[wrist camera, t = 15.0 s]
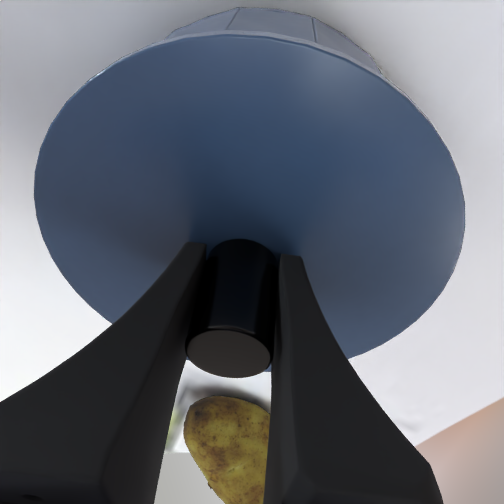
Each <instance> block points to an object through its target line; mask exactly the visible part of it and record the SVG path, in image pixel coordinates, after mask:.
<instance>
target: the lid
mask: <svg viewBox="0 0 504 504" xmlns="http://www.w3.org/2000/svg"><path fill="white" fill-rule="evenodd" d="M34 201H35V208H36V216H37V220H38V224H39V227H40V230H41V234H42V237H43V240H44V242H45V244H46V246H47V248H48V251H49V253H50V255H51V257H52V259H53V260H54V262H55V264H56V265H57V267H58V268H59V270H60V272H61V273H62V275H63V276H64V278H65V279H66V280H67V281H68V283H69V284H70V285H71V286H72V288H73V289H74V290H75V291H76V292H77V293H78V294H79V295H80V296H81V297H82V298H83V299H84V300H85V301H86V302H87V303H88V304H89V306H91V307H92V308H93V309H94V310H95V311H97V312H98V313H99V314H100V315H101V316H103V317H104V318H105V319H106V320H108V321H109V322H111V323H112V324H113V323H114V322H115V321H117V320H118V319H119V318H120V317H121V316H122V315H123V314H124V313H125V312H126V311H127V310H128V309H129V308H130V307H132V305H133V304H134V303H135V302H136V301H137V300H138V299H139V298H140V297H141V296H142V295H143V294H144V293H145V292H146V291H147V290H148V289H149V288H150V287H151V286H152V284H153V283H154V282H155V281H156V280H157V279H158V277H159V276H160V275H161V274H162V273H163V272H164V270H165V269H166V268H167V267H168V265H169V264H170V263H171V262H172V260H173V259H174V258H175V256H176V255H177V254H178V252H179V251H180V250H181V248H182V247H183V245H184V244H185V243H186V242H196V243H203V244H207V249H206V265H205V269H204V272H203V276H202V280H201V284H200V287H199V291H198V295H197V299H196V302H195V306H194V310H193V314H192V318H191V321H190V325H189V329H188V333H187V337H186V340H185V346H184V347H185V353H186V355H187V358H186V360H189V361H191V362H192V363H193V364H194V365H195V366H197V367H198V368H200V369H202V370H204V371H206V372H208V373H211V374H214V375H217V376H222V377H229V378H244V377H250V376H254V375H257V374H260V373H262V372H271V363H272V361H273V357H274V340H275V321H276V302H277V277H278V267H279V262H280V257H281V254H288V255H296V256H301V258H302V259H303V262H304V266H305V269H306V272H307V276H308V279H309V281H310V284H311V287H312V289H313V292H314V295H315V297H316V299H317V302H318V304H319V306H320V308H321V311H322V313H323V315H324V317H325V319H326V321H327V323H328V325H329V327H330V329H331V331H332V333H333V335H334V337H335V339H336V341H337V342H338V344H339V346H340V348H341V349H342V351H343V353H344V354H345V356H346V358H347V359H349V358H352V357H355V356H357V355H360V354H363V353H365V352H367V351H369V350H372V349H374V348H376V347H378V346H380V345H382V344H384V343H385V342H387V341H389V340H390V339H392V338H393V337H395V336H397V335H398V334H400V333H401V332H403V331H404V330H405V329H406V328H408V327H409V326H410V325H412V324H413V323H414V322H415V321H417V320H418V319H419V318H420V317H421V316H422V315H423V314H424V313H425V312H426V311H427V310H428V309H429V308H430V307H431V305H432V304H433V303H434V301H435V300H436V299H437V298H438V296H439V295H440V294H441V292H442V291H443V289H444V288H445V286H446V284H447V282H448V281H449V279H450V277H451V275H452V273H453V271H454V269H455V266H456V263H457V260H458V258H459V255H460V252H461V248H462V242H463V236H464V231H465V201H464V196H463V191H462V186H461V181H460V177H459V174H458V172H457V169H456V167H455V164H454V162H453V160H452V157H451V155H450V152H449V150H448V148H447V147H446V145H445V144H444V142H443V141H442V139H441V138H440V136H439V134H438V133H437V131H436V130H435V128H434V127H433V125H432V124H431V122H430V121H429V119H428V118H427V117H426V115H425V114H424V113H423V112H422V111H421V110H420V109H419V108H418V107H417V106H416V105H415V103H414V102H413V101H412V100H411V99H410V98H409V97H408V96H407V95H406V94H405V93H404V92H403V91H401V90H400V89H399V88H398V87H396V86H395V85H394V84H392V83H391V82H390V81H389V80H387V79H386V78H385V77H383V76H382V75H381V74H380V73H378V72H377V71H375V70H373V69H372V68H370V67H368V66H366V65H364V64H362V63H361V62H359V61H357V60H355V59H353V58H352V57H350V56H348V55H346V54H344V53H342V52H339V51H336V50H333V49H331V48H328V47H325V46H322V45H320V44H317V43H314V42H312V41H309V40H305V39H300V38H295V37H290V36H286V35H281V34H276V33H271V32H260V31H241V30H222V31H212V32H202V33H192V34H186V35H183V36H179V37H175V38H171V39H167V40H163V41H160V42H156V43H153V44H150V45H148V46H146V47H144V48H141V49H139V50H137V51H135V52H132V53H130V54H128V55H126V56H123V57H121V58H120V59H118V60H117V61H115V62H114V63H112V64H111V65H109V66H108V67H106V68H105V69H103V70H102V71H101V72H99V73H98V74H96V75H95V76H93V77H92V78H91V79H89V80H88V81H87V82H86V83H85V84H84V85H83V86H82V87H81V88H80V89H79V90H78V91H77V92H76V93H75V94H74V95H73V96H72V97H71V98H70V99H69V100H68V101H67V102H66V103H65V105H64V106H63V107H62V109H61V110H60V112H59V113H58V115H57V116H56V118H55V119H54V120H53V122H52V123H51V125H50V127H49V129H48V132H47V134H46V136H45V139H44V141H43V143H42V145H41V148H40V152H39V156H38V160H37V165H36V169H35V180H34Z"/></svg>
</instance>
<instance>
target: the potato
mask: <svg viewBox="0 0 504 504" xmlns="http://www.w3.org/2000/svg"><path fill="white" fill-rule="evenodd" d="M269 424H270V414H269V413H268V412H267V411H265V410H264V409H262V408H261V407H259V406H258V405H255V404H253V403H250V402H247V401H244V400H242V399H238V398H232V397H223V396H214V395H213V396H211V397H207V398H204V399H201V400H199V401H197V402H195V403H194V404H192V405H191V406H190V408H189V410H188V412H187V415H186V420H185V422H184V433H183V434H184V439H185V443H186V445H187V447H188V449H189V451H190V453H191V455H192V457H193V458H194V460H195V462H196V463H197V465H198V467H199V468H200V470H201V471H202V472H203V474H204V476H205V477H206V479H207V481H208V485H209V487H210V488H212V489H213V490H214V492H215V493H216V494H217V496H219V498H221V500H223V501H224V503H225V504H263V498H264V486H265V474H266V463H267V450H268V437H269Z"/></svg>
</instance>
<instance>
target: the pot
mask: <svg viewBox="0 0 504 504" xmlns="http://www.w3.org/2000/svg"><path fill="white" fill-rule="evenodd" d="M222 30H241V31H260V32H271V33H276V34H281V35H286V36H290V37H295V38H300V39H305V40H309V41H312V42H314V43H317V44H320V45H322V46H325V47H328V48H331V49H333V50H336V51H339V52H342V53H344V54H346V55H348V56H350V57H352V58H353V59H355V60H357V61H359V62H361V63H362V64H364V65H366V66H368V67H370V68H372V69H373V70H375V71H377V72H378V73H380V74H381V72H380V71H379V69H378V67H377V65H376V64H375V62H374V60H373V58H372V57H370V55H369V54H368V53H366V52H365V51H363V50H362V49H361V48H359V47H358V46H357V45H356V44H354V43H353V42H352V41H351V40H349V39H348V38H347V37H345V36H344V35H343V34H342V33H340V32H338V31H337V30H335V29H333V28H331V27H330V26H328V25H326V24H324V23H322V22H320V21H319V20H317V19H316V18H312V17H311V16H306V15H302V14H299V13H294V12H289V11H284V10H279V9H268V8H243V7H242V8H240V7H238V8H235V9H232V10H230V11H226V12H222V13H218V14H215V15H211V16H208V17H206V18H203V19H201V20H199V21H197V22H194V23H192V24H190V25H187V26H185V27H182V28H179V29H176V30H175V31H173V32H172V33H171V34H170V35H169V36H167V37H166V38H165V39H164V40H167V39H171V38H175V37H179V36H183V35H186V34H192V33H202V32H212V31H222ZM381 75H382V74H381Z"/></svg>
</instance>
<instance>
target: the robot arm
mask: <svg viewBox="0 0 504 504" xmlns="http://www.w3.org/2000/svg"><path fill="white" fill-rule="evenodd" d="M206 249H207V244H203V243H196V242H186V243H185V244H184V245H183V247H182V248H181V250H180V251H179V252H178V254H177V255H176V256H175V258H174V259H173V260H172V262H171V263H170V264H169V265H168V267H167V268H166V269H165V270H164V272H163V273H162V274H161V275H160V276H159V277H158V279H157V280H156V281H155V282H154V283H153V284H152V286H151V287H150V288H149V289H148V290H147V291H146V292H145V293H144V294H143V295H142V296H141V297H140V298H139V299H138V300H137V301H136V302H135V303H134V304H133V305H132V307H130V308H129V309H128V310H127V311H126V312H125V313H124V314H123V315H122V316H121V317H120V318H119V319H118V320H117V321H115V322H114V323H113V324H112V325H111V326H110V327H109V328H107V329H106V330H105V331H104V332H103V333H101V334H100V335H99V336H98V337H96V338H95V339H94V340H93V341H91V342H90V343H89V344H88V345H86V346H85V347H84V348H83V349H81V350H80V351H79V352H77V353H76V354H74V355H73V356H72V357H70V358H69V359H67V360H66V361H64V362H63V363H61V364H60V365H59V366H57V367H56V368H54V369H53V370H51V371H50V372H48V373H47V374H45V375H44V376H42V377H41V378H39V379H38V380H36V381H35V382H33V383H31V384H30V385H28V386H26V387H25V388H23V389H21V390H20V391H18V392H16V393H15V394H13V395H11V396H10V397H8V398H6V399H5V400H3V401H1V402H0V504H154V500H155V495H156V489H157V484H158V479H159V474H160V469H161V464H162V459H163V454H164V449H165V444H166V439H167V435H168V430H169V425H170V420H171V416H172V411H173V407H174V402H175V398H176V393H177V388H178V385H179V381H180V377H181V374H182V371H183V368H184V365H185V362H186V358H187V355H186V353H185V347H184V346H185V340H186V337H187V333H188V329H189V325H190V321H191V318H192V314H193V310H194V306H195V302H196V299H197V295H198V291H199V287H200V284H201V280H202V276H203V272H204V269H205V265H206ZM271 384H272V388H271V410H270V424H269V437H268V450H267V463H266V474H265V486H264V498H263V504H443V500H442V496H441V493H440V490H439V487H438V485H437V482H436V479H435V476H434V474H433V471H432V468H431V466H430V464H429V463H428V462H427V461H426V459H425V458H424V457H423V456H422V455H421V454H420V453H419V452H418V451H417V450H416V448H415V447H414V446H413V445H412V444H411V443H410V442H409V441H408V439H407V438H406V437H405V436H404V435H403V434H402V432H401V431H400V430H399V429H398V428H397V426H396V425H395V424H394V423H393V422H392V420H391V419H390V418H389V417H388V415H387V414H386V413H385V412H384V410H383V409H382V408H381V407H380V405H379V404H378V402H377V401H376V400H375V398H374V397H373V396H372V394H371V393H370V392H369V390H368V389H367V388H366V386H365V385H364V383H363V382H362V381H361V379H360V378H359V376H358V375H357V373H356V372H355V370H354V369H353V367H352V366H351V364H350V363H349V361H348V359H347V358H346V356H345V354H344V353H343V351H342V349H341V348H340V346H339V344H338V342H337V341H336V339H335V337H334V335H333V333H332V331H331V329H330V327H329V325H328V323H327V321H326V319H325V317H324V315H323V313H322V311H321V308H320V306H319V304H318V302H317V299H316V297H315V295H314V292H313V289H312V287H311V284H310V281H309V279H308V276H307V272H306V269H305V266H304V262H303V259H302V258H301V256H296V255H288V254H281V257H280V262H279V267H278V277H277V302H276V321H275V340H274V357H273V361H272V363H271Z"/></svg>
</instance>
